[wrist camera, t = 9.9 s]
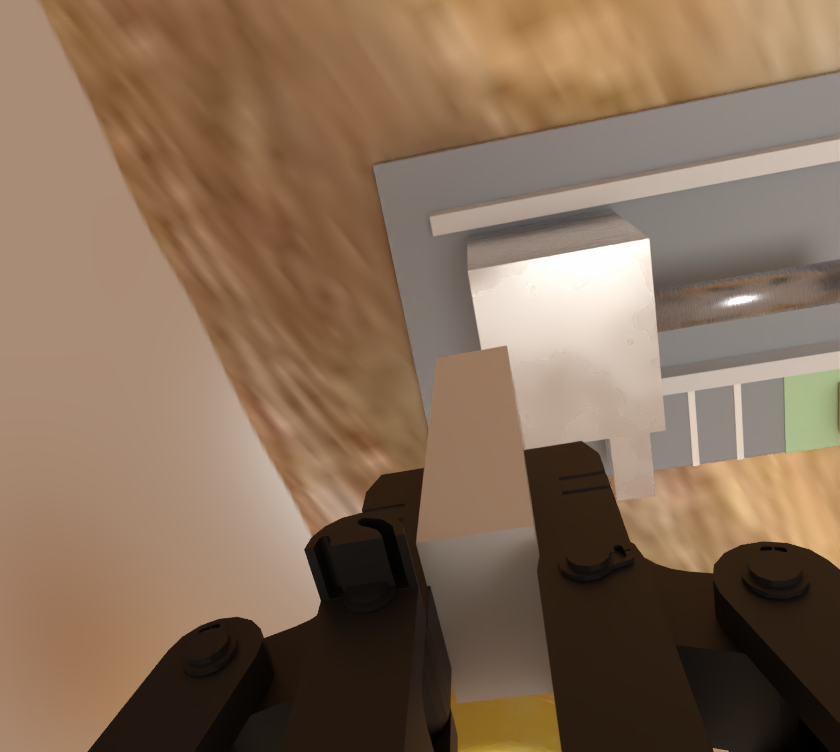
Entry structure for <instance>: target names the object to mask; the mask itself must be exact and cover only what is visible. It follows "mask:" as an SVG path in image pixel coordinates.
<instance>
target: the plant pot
mask: <svg viewBox="0 0 840 752" xmlns="http://www.w3.org/2000/svg"><path fill="white" fill-rule="evenodd" d="M451 710H452V714H453V718H454V722H455V726H456V730H457V735H458V752H562V751H561V744H560V736H559V729H558V722H557V714H556V707H555V700H554V693H546V694H537V695H528V696H520V697H511V698H502V699H493V700H485V701H476V702H467V703H458V704H457V700H456V696H455V692H454V689H453V685H452V681H451Z"/></svg>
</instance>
